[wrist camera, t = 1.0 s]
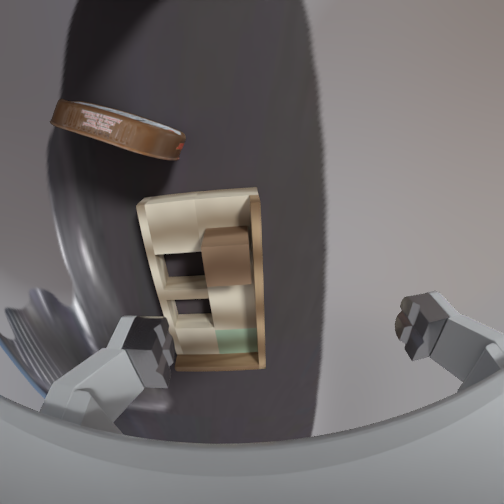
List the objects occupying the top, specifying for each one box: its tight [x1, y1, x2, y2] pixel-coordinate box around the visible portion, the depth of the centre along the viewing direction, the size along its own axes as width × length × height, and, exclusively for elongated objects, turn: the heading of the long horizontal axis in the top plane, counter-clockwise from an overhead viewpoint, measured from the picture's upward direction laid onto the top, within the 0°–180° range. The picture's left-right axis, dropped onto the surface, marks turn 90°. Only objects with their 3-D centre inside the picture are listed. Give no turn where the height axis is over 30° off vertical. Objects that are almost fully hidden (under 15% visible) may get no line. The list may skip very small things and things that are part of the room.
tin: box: [50, 99, 186, 161], centre depth 22 cm, size 15×3×8 cm, turn 65°
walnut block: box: [201, 226, 251, 287], centre depth 28 cm, size 4×4×4 cm
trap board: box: [136, 187, 266, 371], centre depth 33 cm, size 24×13×6 cm, turn 3°
